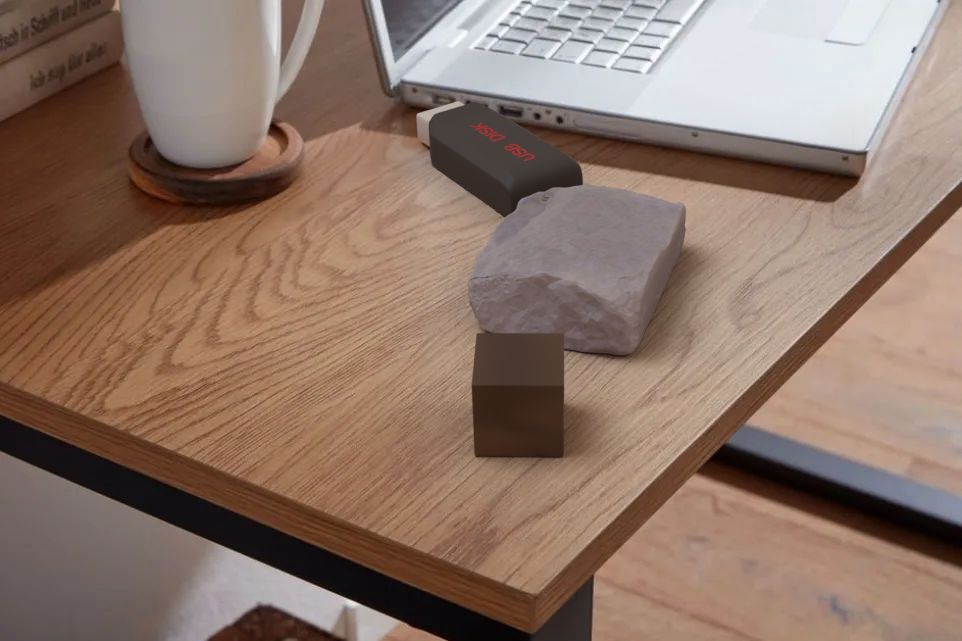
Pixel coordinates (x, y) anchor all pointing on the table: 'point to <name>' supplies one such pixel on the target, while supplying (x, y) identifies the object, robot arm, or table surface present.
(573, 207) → the stone block
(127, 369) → the table surface
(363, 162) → the table surface
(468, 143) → the usb drive
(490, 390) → the walnut block
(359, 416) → the table surface
